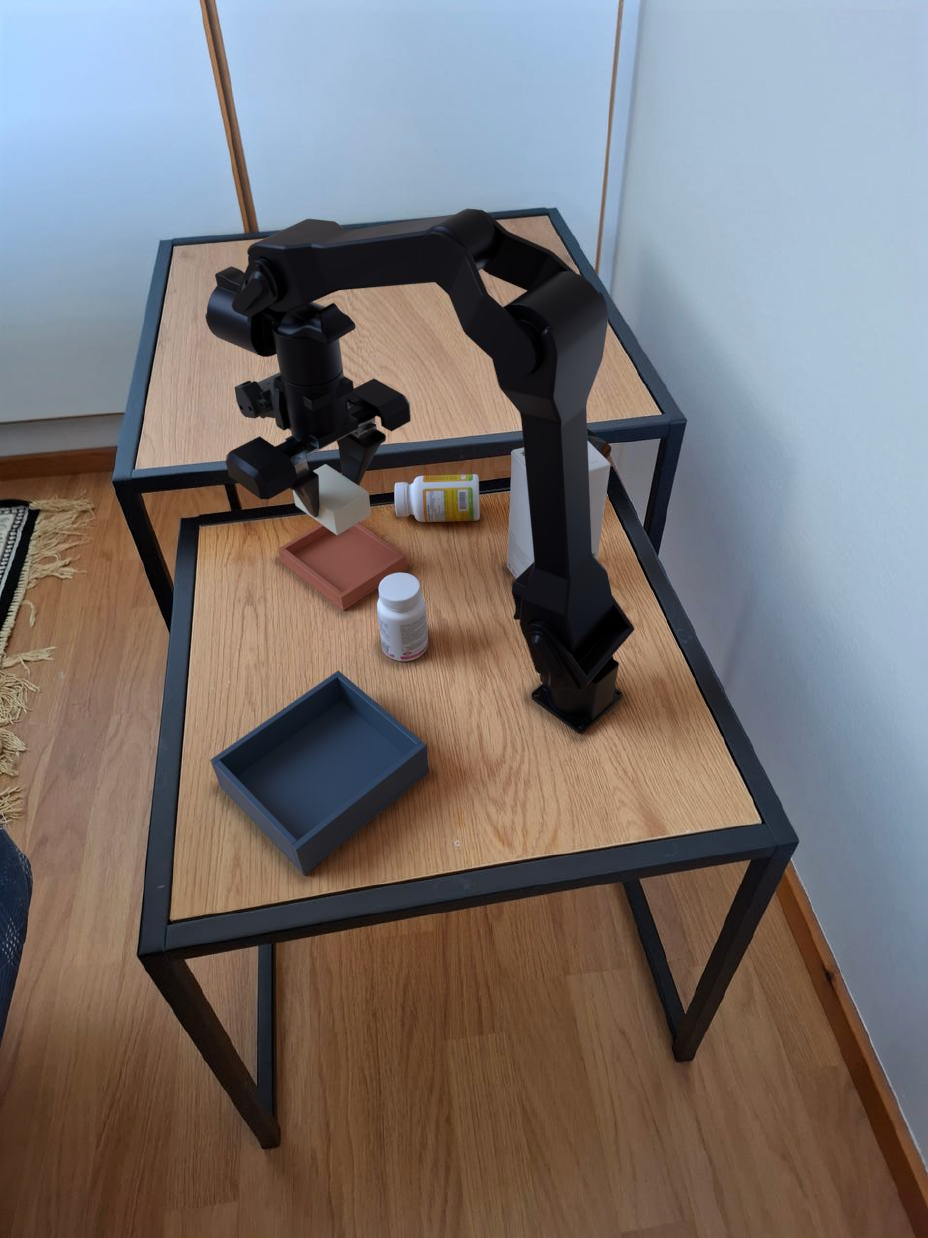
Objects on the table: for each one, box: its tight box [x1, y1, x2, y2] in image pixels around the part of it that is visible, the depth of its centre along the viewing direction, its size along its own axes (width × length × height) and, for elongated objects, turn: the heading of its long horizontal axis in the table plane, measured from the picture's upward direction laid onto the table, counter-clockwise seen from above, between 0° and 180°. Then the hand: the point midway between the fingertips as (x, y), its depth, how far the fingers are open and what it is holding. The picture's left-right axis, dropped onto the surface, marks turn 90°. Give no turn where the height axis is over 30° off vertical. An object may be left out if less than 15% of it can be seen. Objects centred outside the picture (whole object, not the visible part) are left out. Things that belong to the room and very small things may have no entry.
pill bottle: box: [376, 572, 429, 662], centre depth 87 cm, size 5×5×8 cm
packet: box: [292, 463, 372, 535], centre depth 91 cm, size 7×5×3 cm, turn 45°
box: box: [209, 670, 430, 876], centre depth 77 cm, size 12×14×4 cm
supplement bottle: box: [394, 473, 481, 523], centre depth 102 cm, size 5×5×10 cm
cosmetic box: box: [506, 441, 612, 580], centre depth 91 cm, size 8×7×16 cm
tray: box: [277, 522, 408, 611], centre depth 97 cm, size 11×9×2 cm
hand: (332, 504), depth 91 cm, fingers closed on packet, 4 cm apart
